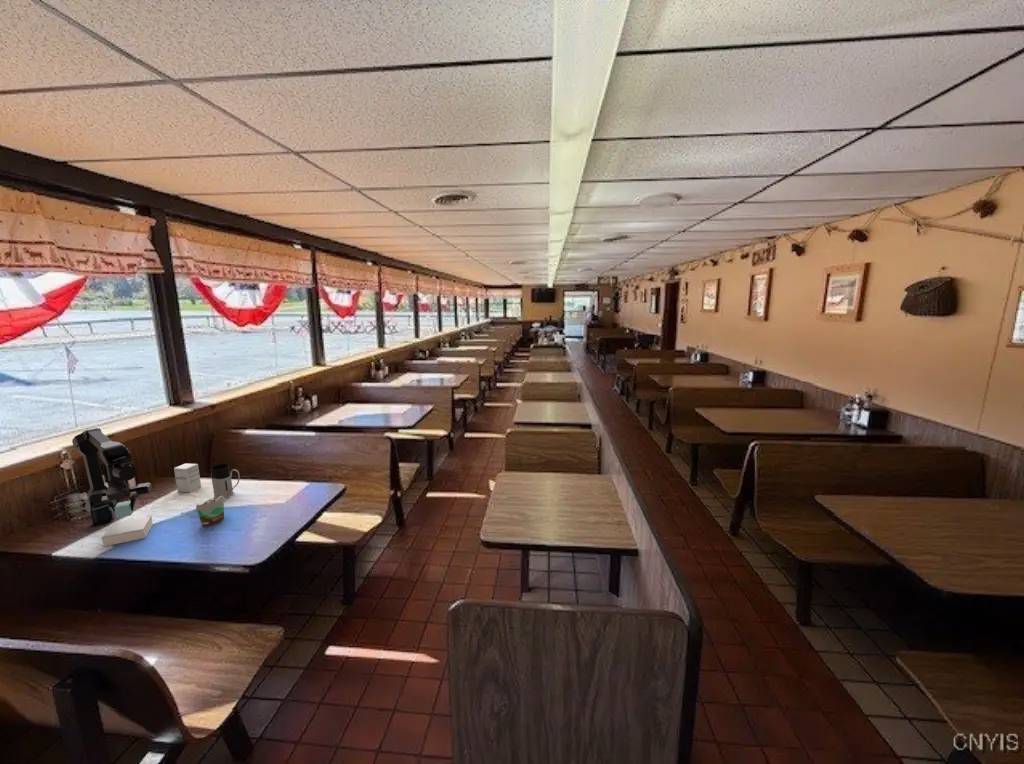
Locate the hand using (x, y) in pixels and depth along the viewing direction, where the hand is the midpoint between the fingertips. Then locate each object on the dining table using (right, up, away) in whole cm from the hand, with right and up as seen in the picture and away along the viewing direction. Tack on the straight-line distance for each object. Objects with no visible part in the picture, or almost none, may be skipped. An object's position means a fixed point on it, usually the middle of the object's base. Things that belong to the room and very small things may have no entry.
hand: (124, 511), depth 185 cm
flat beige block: (0, -10, +2) cm, 10 cm away
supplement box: (-7, -2, +47) cm, 47 cm away
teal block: (0, -1, 0) cm, 1 cm away
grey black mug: (+19, -3, +37) cm, 42 cm away
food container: (+30, -8, +12) cm, 33 cm away
